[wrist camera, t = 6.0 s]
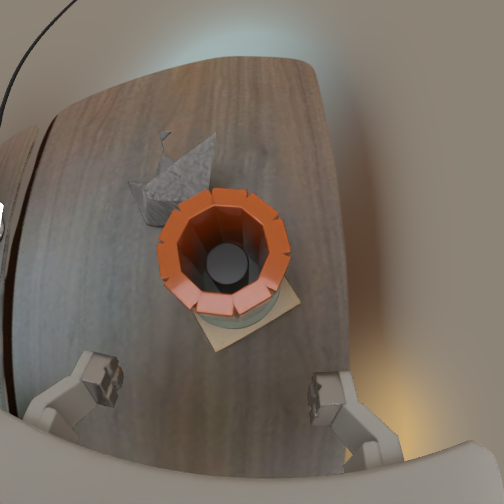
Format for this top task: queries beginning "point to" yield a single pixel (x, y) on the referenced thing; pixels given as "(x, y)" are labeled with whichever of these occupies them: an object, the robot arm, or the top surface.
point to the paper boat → (174, 182)
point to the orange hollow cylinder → (217, 232)
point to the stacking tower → (231, 280)
